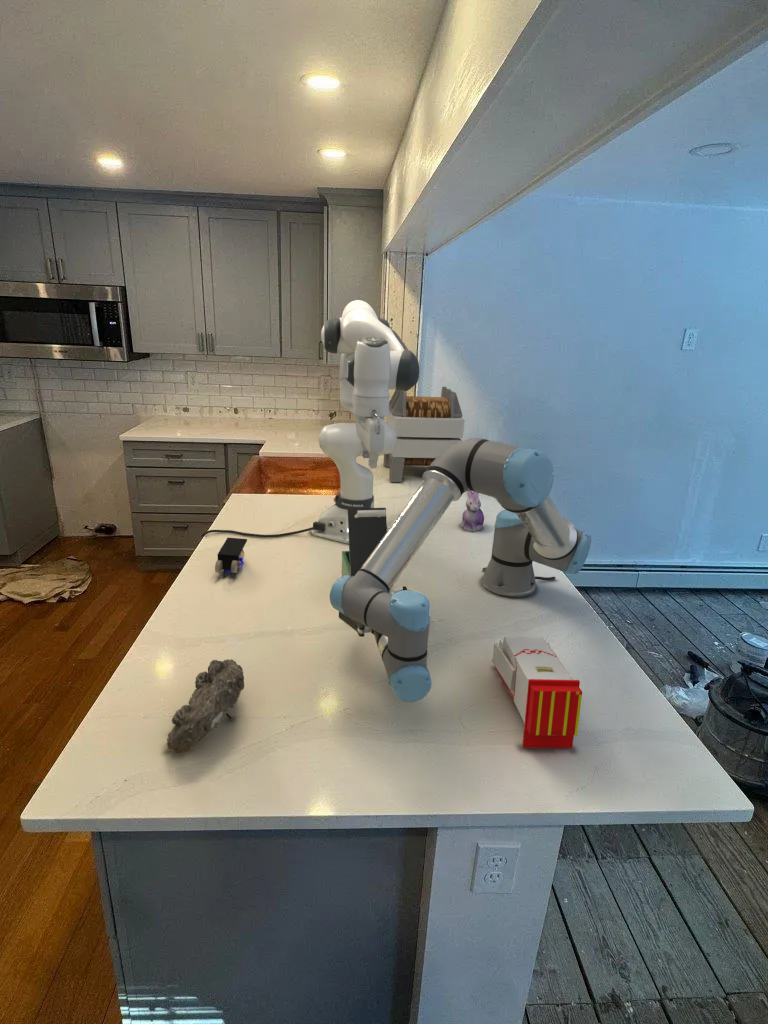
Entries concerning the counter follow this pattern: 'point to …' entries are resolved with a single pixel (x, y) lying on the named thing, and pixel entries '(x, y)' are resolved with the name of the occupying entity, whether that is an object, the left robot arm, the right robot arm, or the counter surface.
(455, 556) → the counter surface
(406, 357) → the left robot arm
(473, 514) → the figurine
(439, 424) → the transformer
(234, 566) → the black toy car
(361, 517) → the lid
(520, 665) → the toy
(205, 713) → the fossil
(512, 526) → the right robot arm
